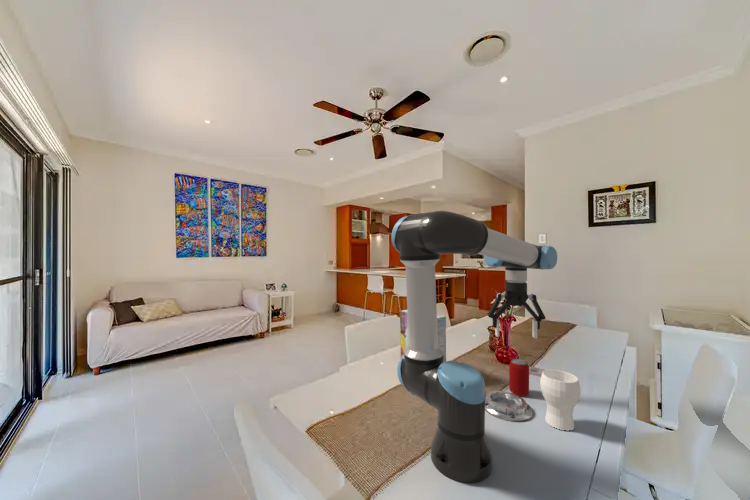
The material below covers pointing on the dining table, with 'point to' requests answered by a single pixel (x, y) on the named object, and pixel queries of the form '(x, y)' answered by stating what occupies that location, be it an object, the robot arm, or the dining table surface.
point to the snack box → (440, 330)
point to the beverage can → (519, 377)
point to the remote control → (535, 371)
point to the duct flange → (507, 406)
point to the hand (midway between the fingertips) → (515, 337)
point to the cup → (560, 397)
